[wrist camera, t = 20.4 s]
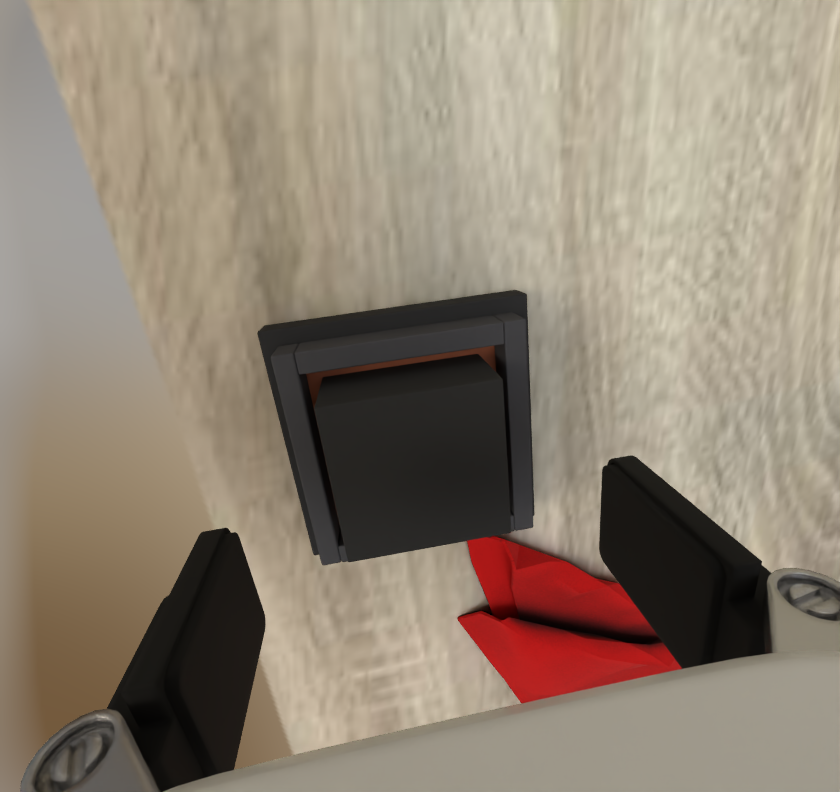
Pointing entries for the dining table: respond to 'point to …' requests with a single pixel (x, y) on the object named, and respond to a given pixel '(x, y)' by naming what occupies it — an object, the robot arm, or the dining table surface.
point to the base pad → (386, 347)
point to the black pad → (416, 455)
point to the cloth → (557, 624)
